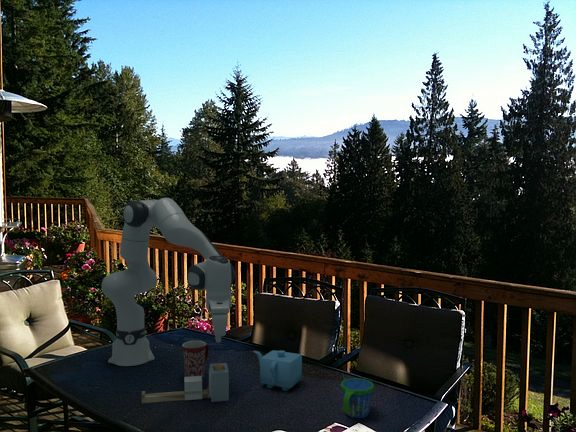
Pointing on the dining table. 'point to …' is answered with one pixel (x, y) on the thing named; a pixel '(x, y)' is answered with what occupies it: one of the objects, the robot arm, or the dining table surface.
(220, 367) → the plunger
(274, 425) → the dining table surface
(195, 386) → the carriage
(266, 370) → the teapot
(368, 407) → the snack cup
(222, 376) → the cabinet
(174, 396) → the rail
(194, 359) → the mug
